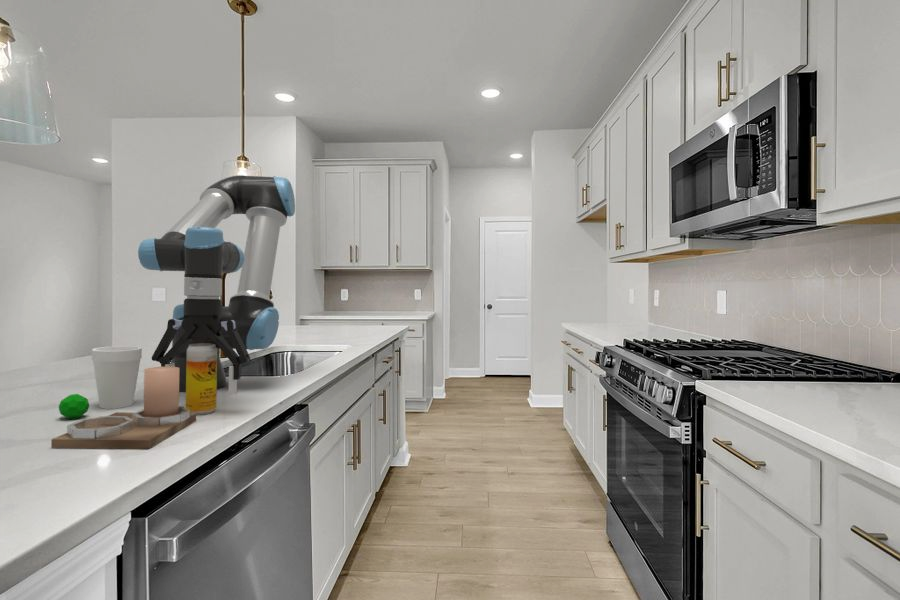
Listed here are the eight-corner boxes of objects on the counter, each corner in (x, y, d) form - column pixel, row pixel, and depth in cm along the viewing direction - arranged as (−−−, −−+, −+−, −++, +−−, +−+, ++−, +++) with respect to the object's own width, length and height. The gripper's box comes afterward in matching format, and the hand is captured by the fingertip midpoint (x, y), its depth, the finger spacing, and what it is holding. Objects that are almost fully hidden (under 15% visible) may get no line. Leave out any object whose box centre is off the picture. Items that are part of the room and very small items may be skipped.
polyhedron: (82, 420, 101) (82, 397, 101) (53, 421, 99) (54, 398, 99) (93, 414, 106) (93, 392, 105) (66, 415, 104) (66, 392, 104)
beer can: (203, 416, 106) (205, 346, 106) (179, 414, 108) (180, 345, 107) (222, 409, 112) (223, 343, 112) (198, 407, 113) (199, 342, 113)
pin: (153, 415, 101) (154, 366, 100) (184, 415, 101) (185, 366, 101) (137, 423, 95) (137, 371, 94) (169, 423, 95) (170, 371, 95)
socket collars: (117, 412, 102) (117, 405, 102) (195, 413, 103) (195, 406, 103) (55, 438, 84) (55, 429, 84) (150, 439, 85) (150, 431, 85)
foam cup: (142, 399, 120) (143, 345, 120) (138, 408, 112) (139, 350, 111) (95, 402, 116) (95, 346, 115) (87, 411, 107) (88, 351, 107)
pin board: (116, 419, 102) (116, 412, 102) (196, 420, 103) (196, 413, 103) (51, 448, 84) (51, 439, 84) (148, 449, 85) (149, 440, 85)
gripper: (134, 296, 105) (132, 396, 105) (255, 299, 106) (252, 398, 107) (153, 295, 112) (151, 389, 113) (266, 299, 114) (263, 391, 114)
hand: (201, 393), depth 110 cm, fingers open, 13 cm apart
